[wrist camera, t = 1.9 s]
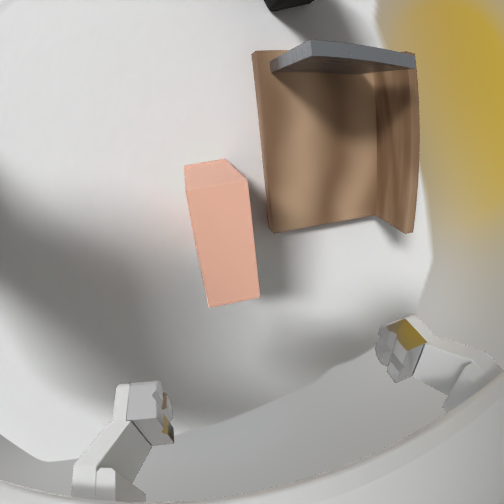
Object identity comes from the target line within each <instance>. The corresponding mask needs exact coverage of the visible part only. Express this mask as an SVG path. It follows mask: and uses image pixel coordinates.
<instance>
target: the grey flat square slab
mask: <svg viewBox="0 0 504 504" xmlns="http://www.w3.org/2000/svg"><path fill="white" fill-rule="evenodd" d="M269 62H270V71H271V73H280V72H314V73H338V74H352V75H358V74H366V73H375V72H384V71H395V70H409V69H416V61H415V56H413V55H409V54H405V53H401V52H396V51H391V50H386V49H381V48H376V47H370V46H363V45H357V44H349V43H341V42H332V41H321V40H309V41H307V42H305V43H303V44H301V45H299V46H297V47H295V48H293V49H291V50H289V51H287V52H286V53H284V54H282V55H280V56H278V57H277V58H275V59H273V60H271V61H269Z"/></svg>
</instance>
